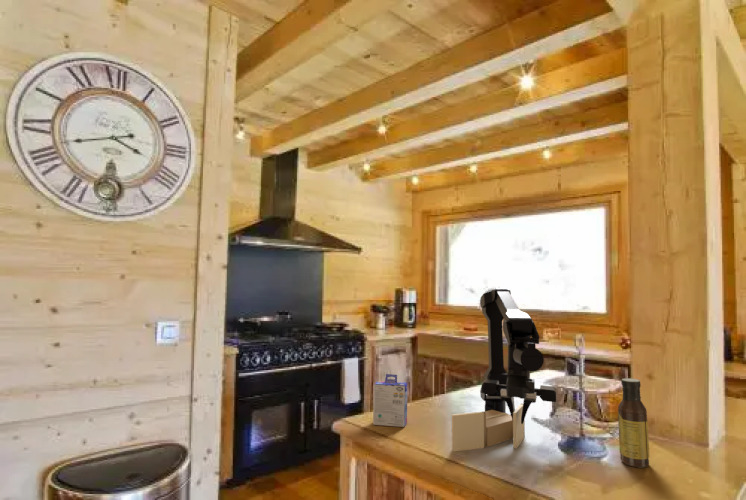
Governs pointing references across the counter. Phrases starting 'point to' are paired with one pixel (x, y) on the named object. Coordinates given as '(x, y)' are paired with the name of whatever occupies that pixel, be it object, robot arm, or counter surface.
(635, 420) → the sauce bottle
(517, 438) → the side flap
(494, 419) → the carton
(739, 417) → the counter surface
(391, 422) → the ink cartridge box
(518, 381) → the robot arm
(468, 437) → the front flap
